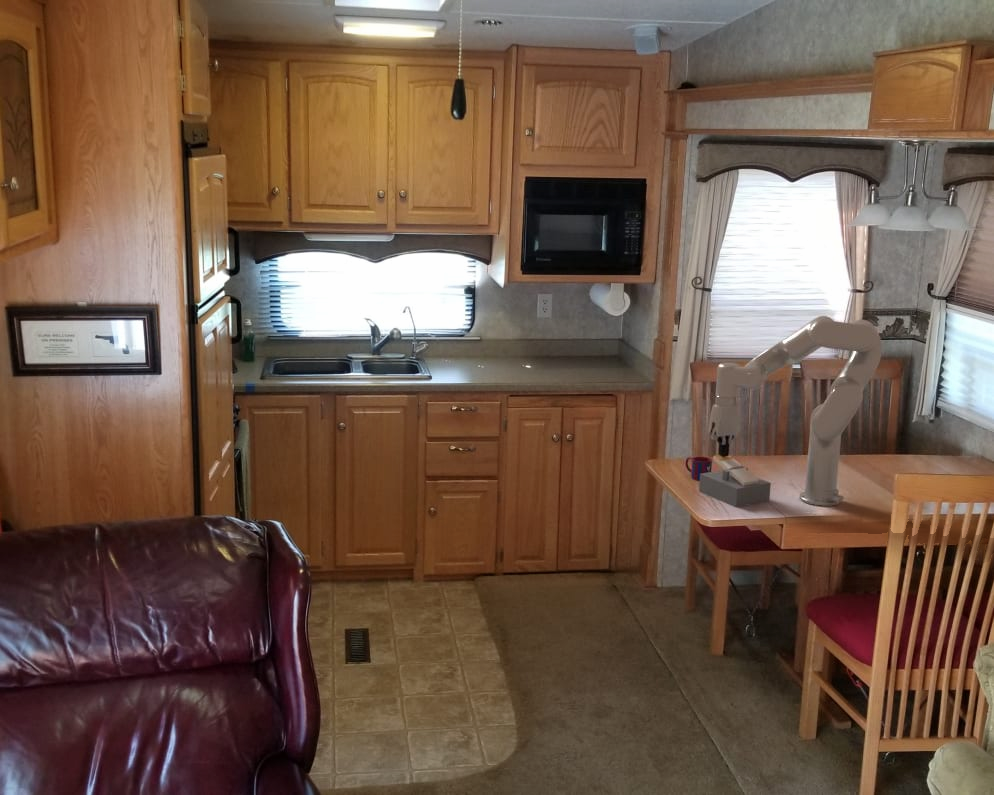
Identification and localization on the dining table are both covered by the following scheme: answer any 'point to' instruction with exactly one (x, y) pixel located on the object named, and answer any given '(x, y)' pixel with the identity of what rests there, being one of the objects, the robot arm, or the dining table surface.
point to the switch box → (733, 489)
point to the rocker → (736, 470)
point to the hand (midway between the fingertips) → (723, 455)
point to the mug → (699, 466)
